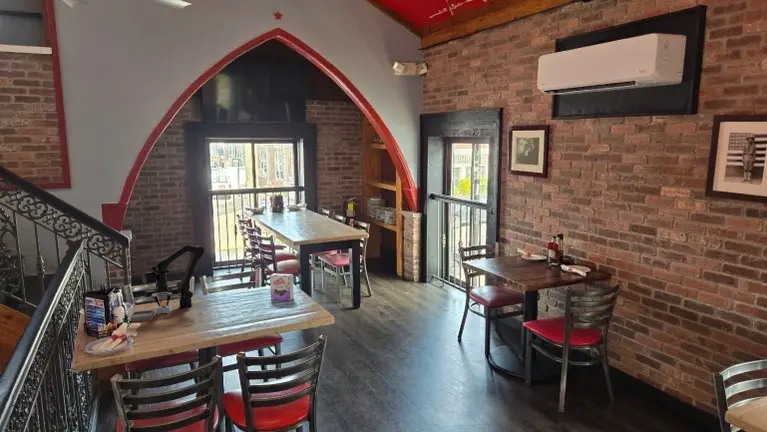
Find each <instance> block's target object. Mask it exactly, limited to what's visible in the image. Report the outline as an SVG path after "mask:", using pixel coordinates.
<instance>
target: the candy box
mask: <svg viewBox="0 0 767 432" xmlns="http://www.w3.org/2000/svg"><path fill="white" fill-rule="evenodd" d="M293 276H294V275H293V273H275V272H274V273H272V274H269V282H270V283H269V287H270V300H271V301H285V302H286V301H287V302H291V301H293V300H295V297H294V277H293Z"/></svg>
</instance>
